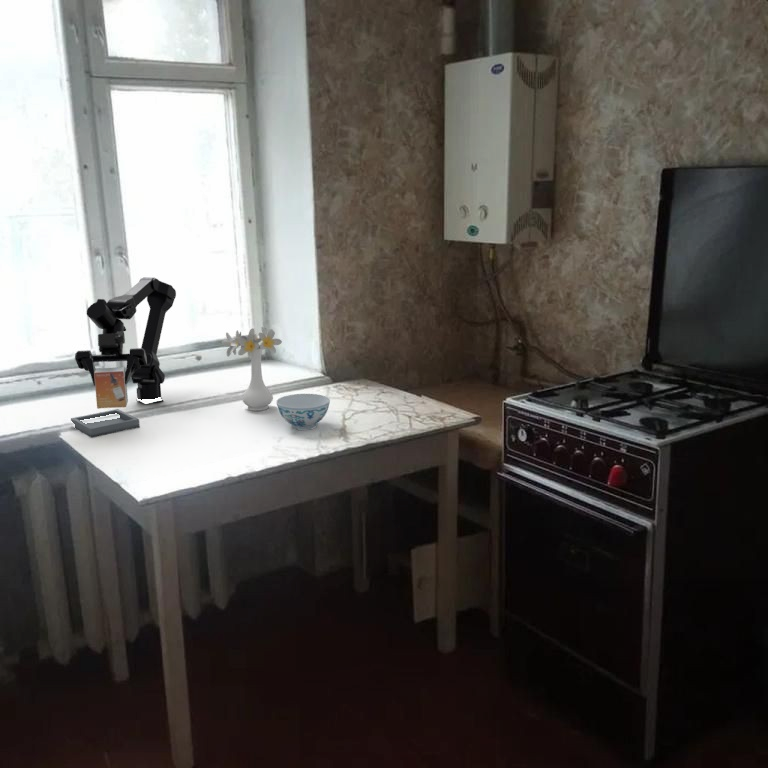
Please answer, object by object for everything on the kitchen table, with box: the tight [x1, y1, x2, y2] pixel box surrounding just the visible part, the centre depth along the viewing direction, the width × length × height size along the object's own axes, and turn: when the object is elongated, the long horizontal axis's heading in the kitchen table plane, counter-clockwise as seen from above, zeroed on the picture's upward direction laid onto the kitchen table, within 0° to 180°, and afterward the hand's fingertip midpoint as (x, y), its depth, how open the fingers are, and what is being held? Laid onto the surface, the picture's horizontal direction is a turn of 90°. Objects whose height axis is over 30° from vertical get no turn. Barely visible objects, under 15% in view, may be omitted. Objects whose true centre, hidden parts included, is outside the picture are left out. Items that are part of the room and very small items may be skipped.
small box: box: [94, 366, 129, 409], centre depth 226 cm, size 8×6×10 cm
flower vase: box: [221, 326, 283, 412], centre depth 244 cm, size 13×18×25 cm
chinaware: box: [276, 393, 331, 431], centre depth 228 cm, size 15×15×8 cm
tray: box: [70, 408, 141, 439], centre depth 229 cm, size 14×14×2 cm
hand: (110, 384), depth 224 cm, fingers closed on small box, 8 cm apart
